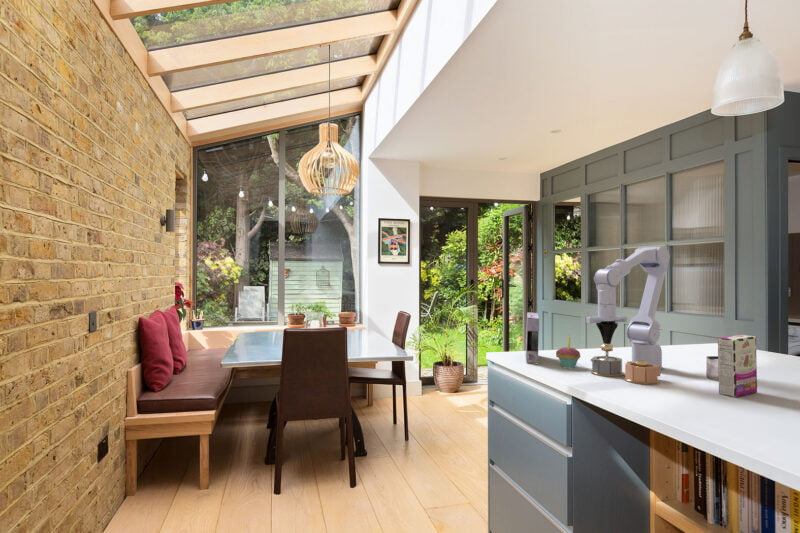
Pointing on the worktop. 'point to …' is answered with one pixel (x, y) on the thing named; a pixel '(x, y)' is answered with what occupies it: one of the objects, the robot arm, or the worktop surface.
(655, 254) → the robot arm
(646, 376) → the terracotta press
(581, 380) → the worktop surface
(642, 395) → the worktop surface
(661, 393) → the worktop surface
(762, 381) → the worktop surface
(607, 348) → the brass-capped silver knob
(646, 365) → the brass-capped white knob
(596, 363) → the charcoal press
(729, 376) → the candy bar box
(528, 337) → the cake pan box
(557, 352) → the cupcake
